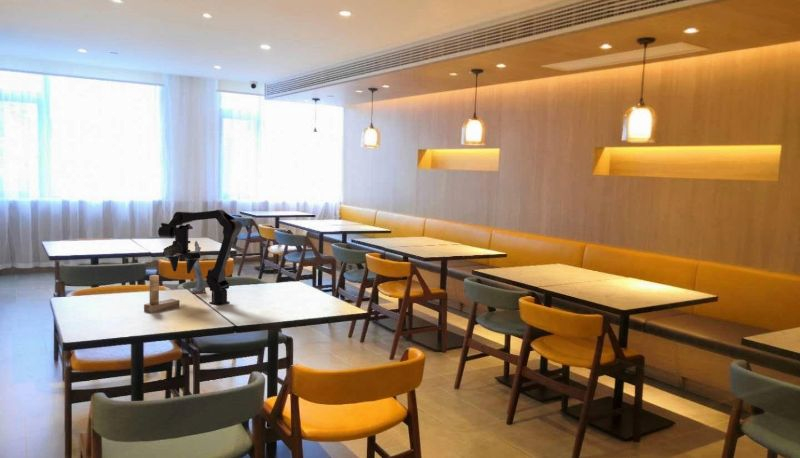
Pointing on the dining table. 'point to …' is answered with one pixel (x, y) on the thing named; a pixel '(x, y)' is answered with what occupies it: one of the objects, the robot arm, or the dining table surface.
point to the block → (161, 306)
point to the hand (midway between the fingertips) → (181, 272)
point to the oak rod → (154, 289)
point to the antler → (198, 274)
